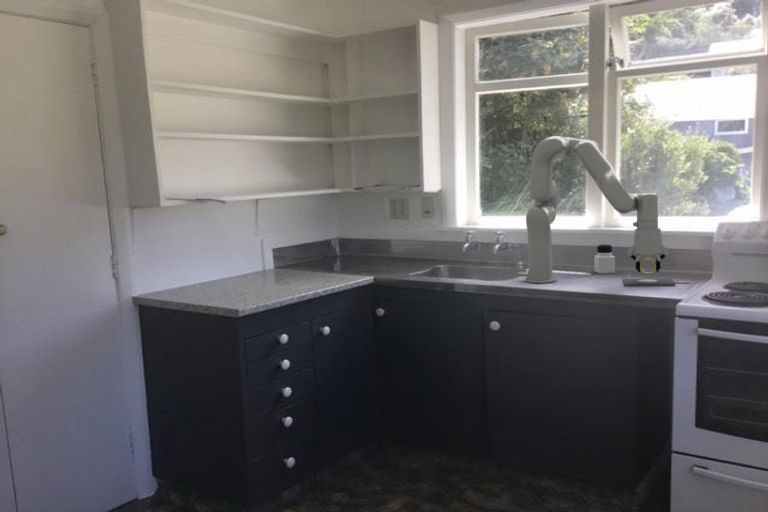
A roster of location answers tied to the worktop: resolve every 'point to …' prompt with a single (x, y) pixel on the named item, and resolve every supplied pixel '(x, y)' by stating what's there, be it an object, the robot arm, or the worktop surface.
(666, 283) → the charging pad
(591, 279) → the worktop surface
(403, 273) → the worktop surface
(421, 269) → the worktop surface
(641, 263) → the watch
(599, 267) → the medicine bottle
